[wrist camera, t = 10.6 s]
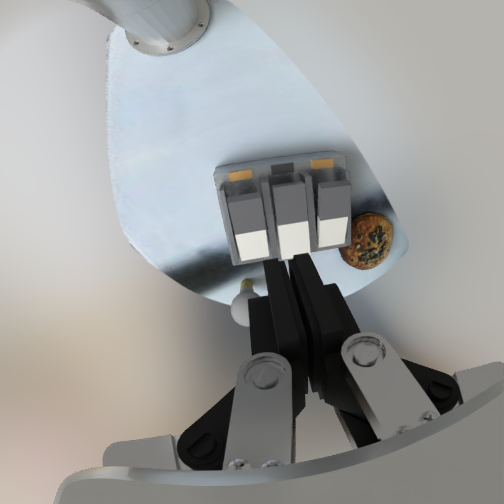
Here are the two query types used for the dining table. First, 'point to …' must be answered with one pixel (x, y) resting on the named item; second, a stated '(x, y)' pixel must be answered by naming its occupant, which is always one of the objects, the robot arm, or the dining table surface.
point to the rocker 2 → (291, 218)
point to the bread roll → (368, 241)
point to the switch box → (261, 180)
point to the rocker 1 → (249, 225)
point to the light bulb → (242, 303)
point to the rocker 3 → (333, 212)
